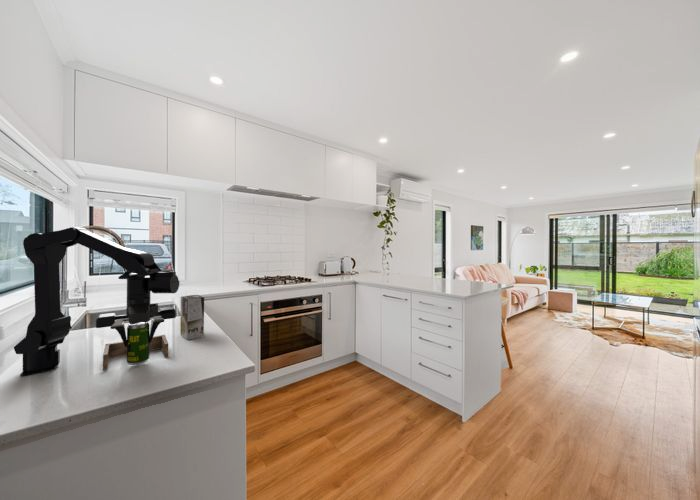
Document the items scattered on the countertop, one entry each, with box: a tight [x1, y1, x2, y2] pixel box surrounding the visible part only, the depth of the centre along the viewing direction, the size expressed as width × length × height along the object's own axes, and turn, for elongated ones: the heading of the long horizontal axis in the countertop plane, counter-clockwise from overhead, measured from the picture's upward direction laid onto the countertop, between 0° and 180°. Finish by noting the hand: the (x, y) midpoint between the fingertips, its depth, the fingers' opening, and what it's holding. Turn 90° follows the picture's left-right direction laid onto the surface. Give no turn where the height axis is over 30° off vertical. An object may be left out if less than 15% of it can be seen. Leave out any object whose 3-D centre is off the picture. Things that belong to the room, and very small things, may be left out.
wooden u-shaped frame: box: [102, 334, 169, 371], centre depth 88 cm, size 16×11×4 cm
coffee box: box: [179, 294, 205, 341], centre depth 110 cm, size 9×6×16 cm
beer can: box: [126, 321, 150, 366], centre depth 82 cm, size 5×5×12 cm
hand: (138, 344), depth 82 cm, fingers closed on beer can, 5 cm apart
